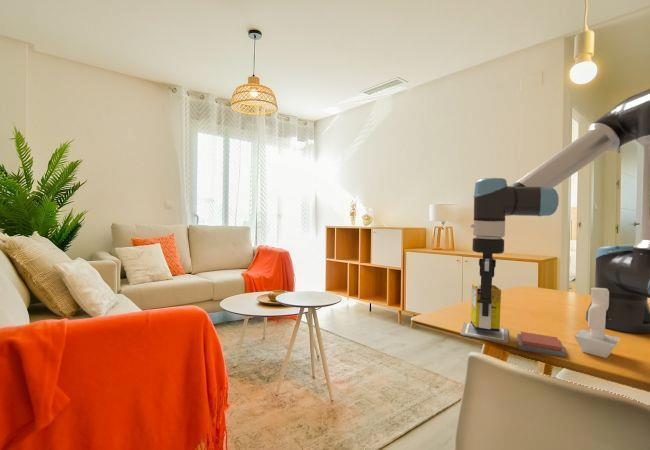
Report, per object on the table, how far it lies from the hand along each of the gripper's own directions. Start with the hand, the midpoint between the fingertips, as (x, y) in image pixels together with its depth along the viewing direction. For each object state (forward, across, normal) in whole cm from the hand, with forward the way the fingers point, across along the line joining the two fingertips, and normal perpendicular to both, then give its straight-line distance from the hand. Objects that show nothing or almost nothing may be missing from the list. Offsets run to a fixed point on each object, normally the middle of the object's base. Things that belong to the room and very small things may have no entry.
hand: (485, 323), depth 90 cm
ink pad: (+2, +4, +12) cm, 13 cm away
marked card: (+2, 0, 0) cm, 2 cm away
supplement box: (+1, 0, 0) cm, 1 cm away
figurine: (+3, +1, +23) cm, 23 cm away
